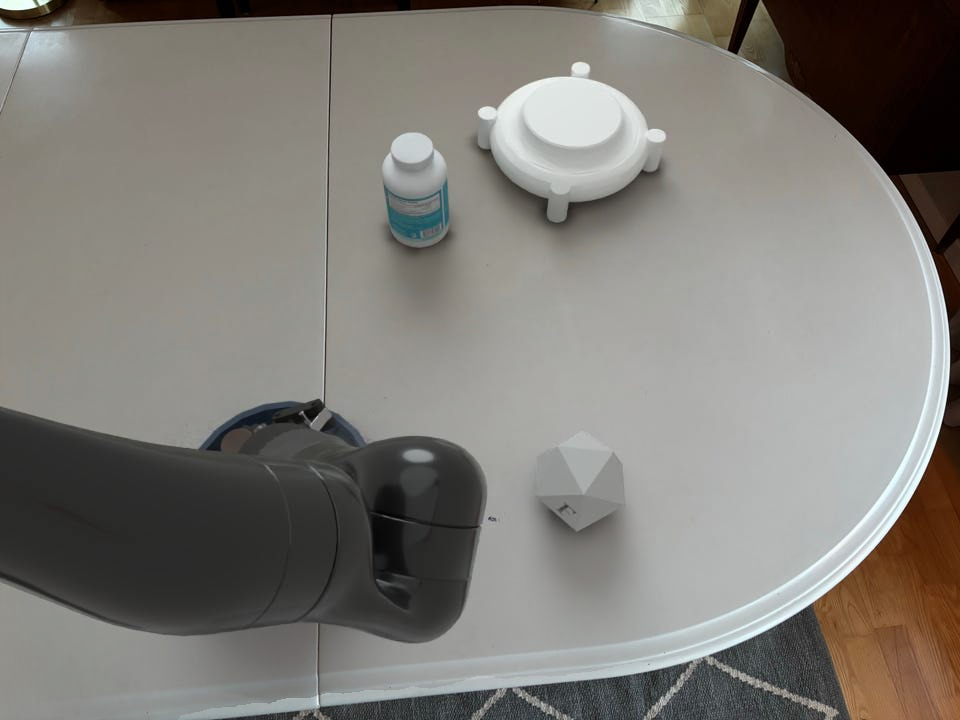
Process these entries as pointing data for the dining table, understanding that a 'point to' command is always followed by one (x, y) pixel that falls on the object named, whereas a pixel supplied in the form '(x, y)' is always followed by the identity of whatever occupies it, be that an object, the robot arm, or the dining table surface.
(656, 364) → the dining table surface
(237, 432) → the brown cylinder
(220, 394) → the dining table surface
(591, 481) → the die
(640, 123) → the round stand with pegs
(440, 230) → the pill bottle
